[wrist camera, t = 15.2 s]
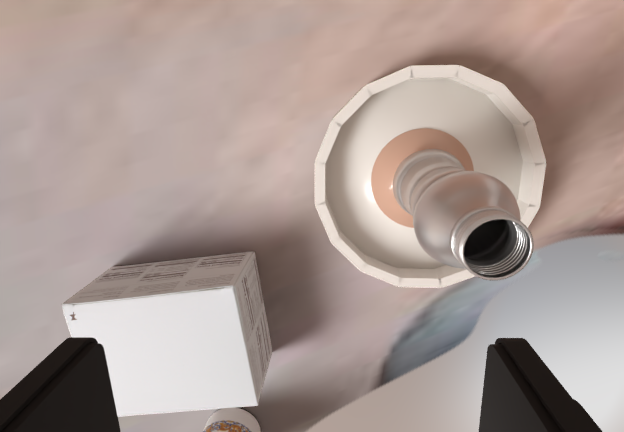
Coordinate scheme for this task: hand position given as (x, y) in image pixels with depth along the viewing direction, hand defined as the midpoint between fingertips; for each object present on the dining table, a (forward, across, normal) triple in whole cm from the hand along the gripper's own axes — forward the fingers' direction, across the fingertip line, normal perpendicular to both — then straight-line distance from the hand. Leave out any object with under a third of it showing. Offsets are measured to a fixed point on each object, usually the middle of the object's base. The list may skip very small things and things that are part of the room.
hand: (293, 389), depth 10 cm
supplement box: (+34, +15, +17) cm, 41 cm away
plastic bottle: (+32, -10, +1) cm, 34 cm away
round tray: (+33, -10, +2) cm, 35 cm away
